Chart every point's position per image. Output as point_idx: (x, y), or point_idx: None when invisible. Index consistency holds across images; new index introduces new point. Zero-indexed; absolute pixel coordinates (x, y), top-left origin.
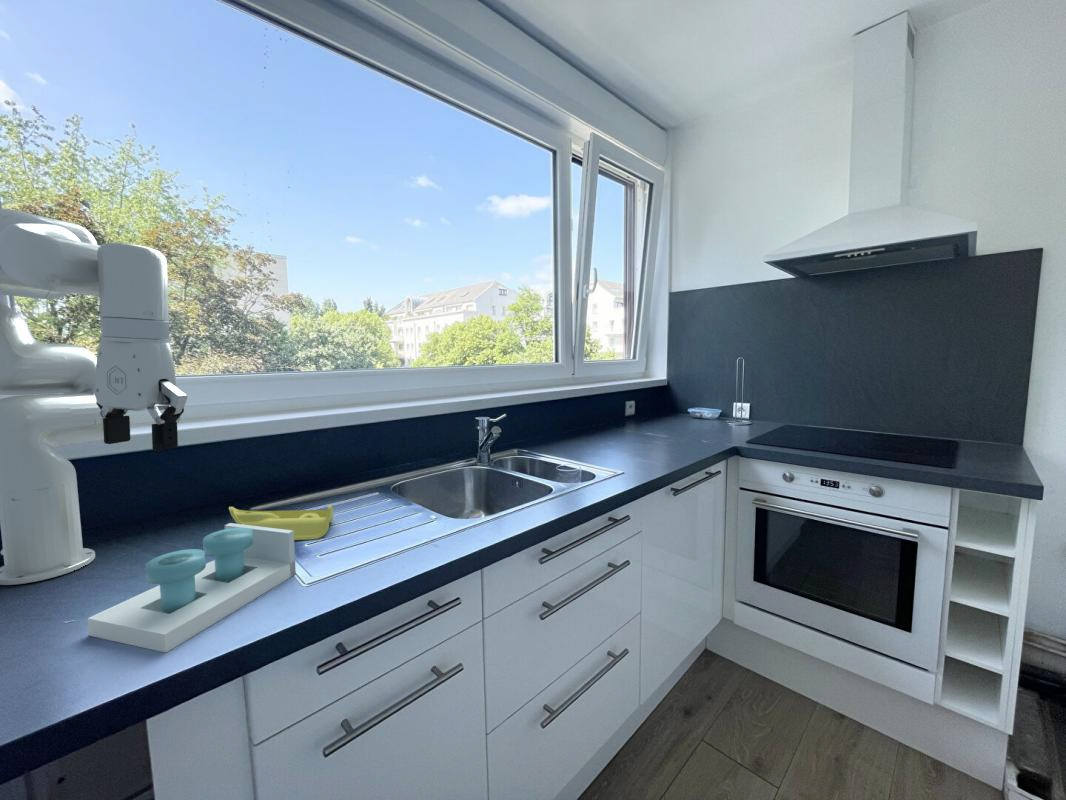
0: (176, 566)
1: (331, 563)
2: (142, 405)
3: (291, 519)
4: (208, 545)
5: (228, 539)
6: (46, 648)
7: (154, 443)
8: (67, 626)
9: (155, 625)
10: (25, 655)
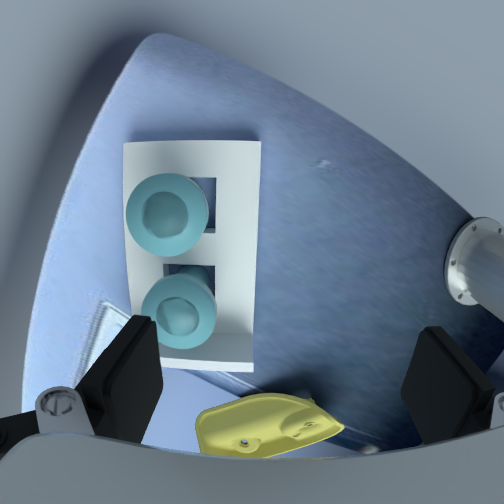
0: (135, 194)
1: None
2: (21, 444)
3: (248, 430)
4: (177, 280)
5: (157, 301)
6: (281, 113)
7: (124, 326)
8: (312, 153)
9: (152, 152)
10: (289, 99)
